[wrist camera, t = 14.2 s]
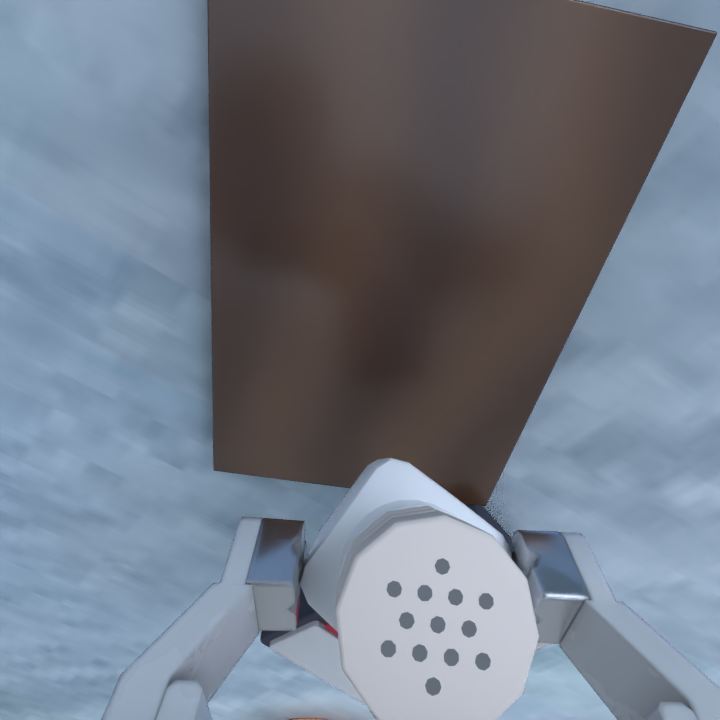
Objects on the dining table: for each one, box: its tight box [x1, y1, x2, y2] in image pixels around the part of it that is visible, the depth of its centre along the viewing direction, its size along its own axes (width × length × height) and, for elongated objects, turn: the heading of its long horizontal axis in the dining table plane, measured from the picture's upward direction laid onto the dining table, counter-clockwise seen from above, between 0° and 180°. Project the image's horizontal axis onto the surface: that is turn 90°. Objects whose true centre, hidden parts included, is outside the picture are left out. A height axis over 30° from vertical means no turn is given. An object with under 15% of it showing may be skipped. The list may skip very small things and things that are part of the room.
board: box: [208, 0, 717, 506], centre depth 17 cm, size 14×20×1 cm
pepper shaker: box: [300, 458, 539, 720], centre depth 11 cm, size 4×4×10 cm
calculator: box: [261, 503, 551, 706], centre depth 27 cm, size 11×4×15 cm
